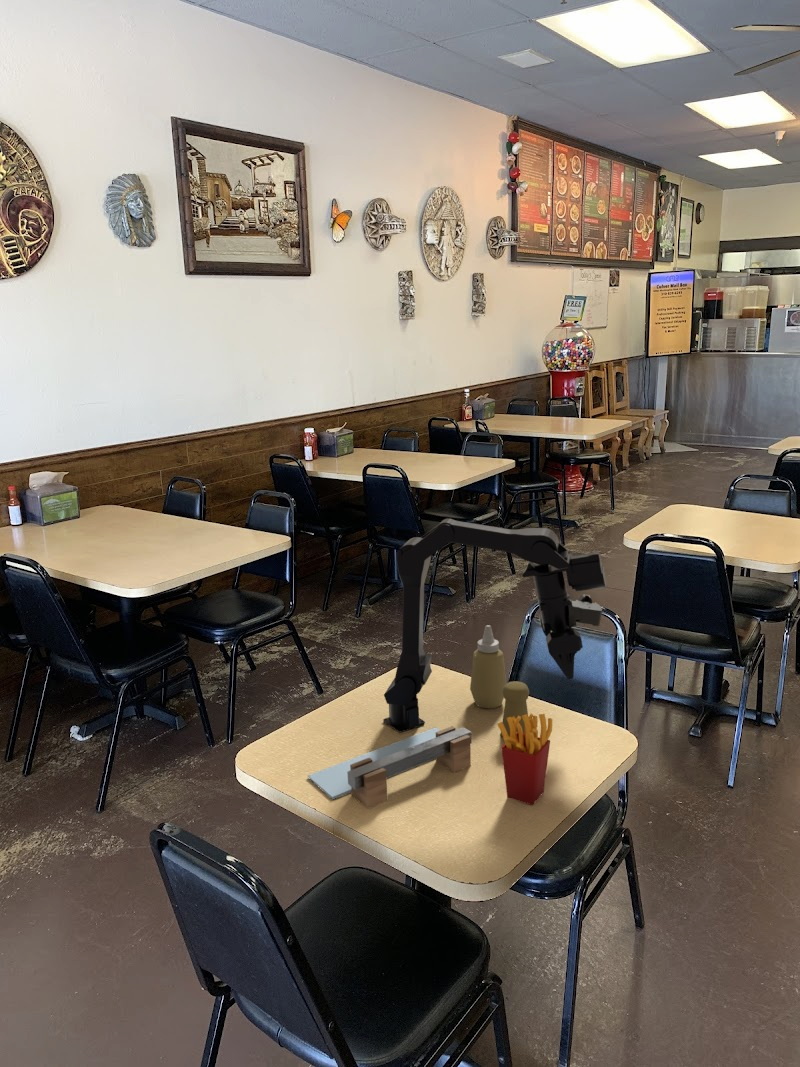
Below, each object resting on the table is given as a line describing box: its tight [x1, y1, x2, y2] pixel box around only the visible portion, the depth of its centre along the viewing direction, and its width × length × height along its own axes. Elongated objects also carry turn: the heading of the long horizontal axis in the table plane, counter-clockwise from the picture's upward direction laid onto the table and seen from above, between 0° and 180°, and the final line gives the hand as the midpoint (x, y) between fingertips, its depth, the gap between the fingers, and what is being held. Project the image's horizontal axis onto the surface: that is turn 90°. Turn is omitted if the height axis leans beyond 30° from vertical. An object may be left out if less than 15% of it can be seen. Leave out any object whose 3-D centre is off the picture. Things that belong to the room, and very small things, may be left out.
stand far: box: [435, 725, 472, 773], centre depth 151 cm, size 5×4×6 cm
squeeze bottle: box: [469, 624, 507, 709], centre depth 173 cm, size 8×8×18 cm
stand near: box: [350, 758, 388, 810], centre depth 140 cm, size 5×4×6 cm
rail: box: [347, 727, 472, 790], centre depth 145 cm, size 26×2×2 cm, turn 125°
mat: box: [307, 727, 441, 801], centre depth 153 cm, size 9×30×1 cm, turn 125°
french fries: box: [497, 713, 553, 806], centre depth 140 cm, size 9×8×15 cm
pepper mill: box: [500, 680, 530, 738], centre depth 160 cm, size 6×6×11 cm
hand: (567, 669), depth 156 cm, fingers open, 9 cm apart
